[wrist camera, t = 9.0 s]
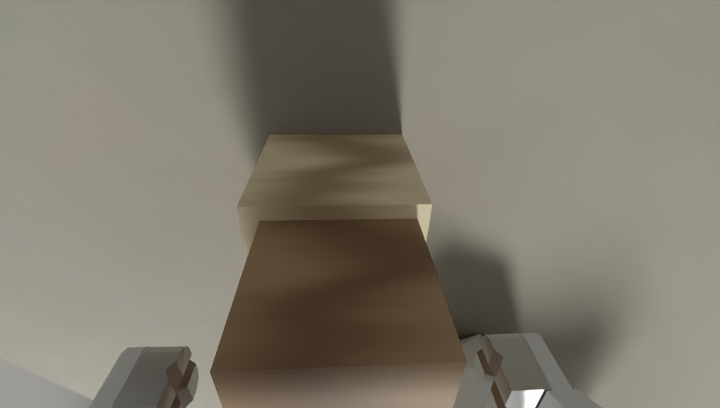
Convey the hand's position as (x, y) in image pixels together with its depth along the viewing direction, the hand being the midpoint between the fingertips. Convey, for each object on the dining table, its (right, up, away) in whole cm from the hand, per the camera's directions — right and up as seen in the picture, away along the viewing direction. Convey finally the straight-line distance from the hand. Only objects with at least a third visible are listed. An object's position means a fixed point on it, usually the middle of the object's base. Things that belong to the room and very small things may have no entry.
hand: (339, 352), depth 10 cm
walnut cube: (0, +2, +3) cm, 3 cm away
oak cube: (-1, +5, +8) cm, 9 cm away
